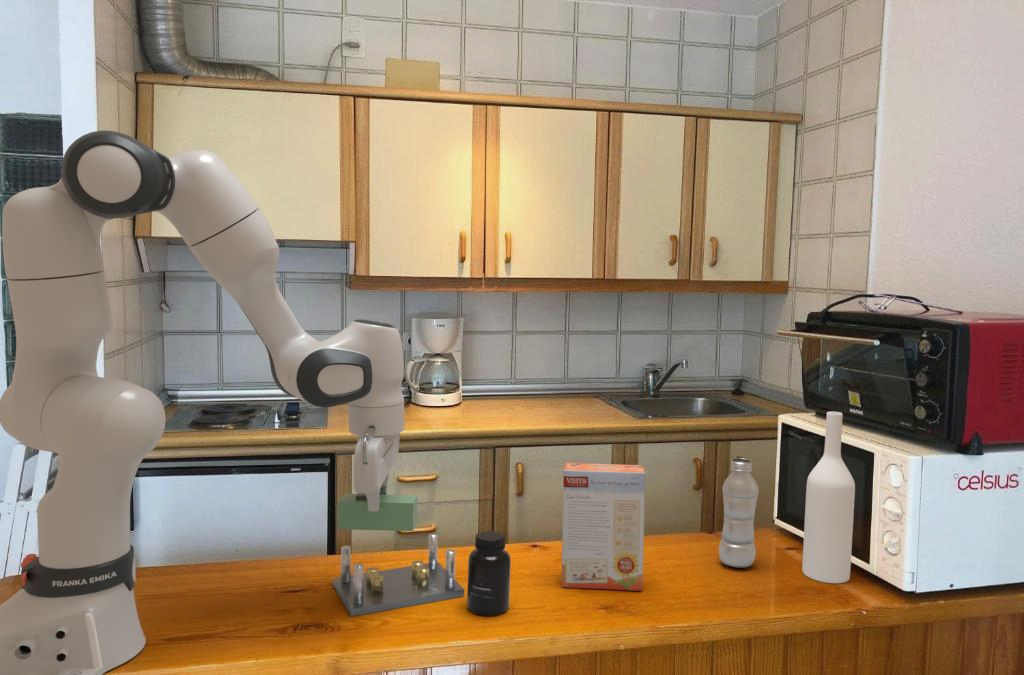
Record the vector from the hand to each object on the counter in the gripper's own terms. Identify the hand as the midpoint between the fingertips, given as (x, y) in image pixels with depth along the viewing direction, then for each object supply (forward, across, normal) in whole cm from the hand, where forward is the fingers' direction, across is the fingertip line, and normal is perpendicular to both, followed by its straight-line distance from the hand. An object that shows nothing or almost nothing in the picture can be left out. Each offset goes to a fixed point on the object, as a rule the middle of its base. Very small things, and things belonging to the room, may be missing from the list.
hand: (378, 503), depth 122 cm
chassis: (+16, +3, -3) cm, 17 cm away
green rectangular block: (+4, 0, 0) cm, 4 cm away
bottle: (+18, +13, -79) cm, 82 cm away
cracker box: (+17, +8, -38) cm, 42 cm away
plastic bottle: (+18, +17, -64) cm, 69 cm away
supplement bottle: (+16, -3, -18) cm, 25 cm away
